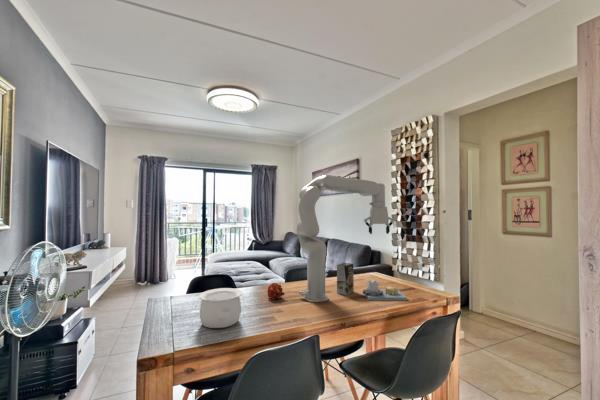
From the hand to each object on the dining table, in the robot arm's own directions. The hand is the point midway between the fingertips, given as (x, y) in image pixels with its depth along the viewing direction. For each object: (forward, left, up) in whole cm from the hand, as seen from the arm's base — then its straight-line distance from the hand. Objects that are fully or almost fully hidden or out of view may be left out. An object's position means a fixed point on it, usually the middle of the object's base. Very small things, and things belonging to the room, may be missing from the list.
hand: (379, 233), depth 165 cm
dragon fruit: (-60, -14, -34) cm, 70 cm away
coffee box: (-21, -3, -34) cm, 39 cm away
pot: (-79, -48, -34) cm, 98 cm away
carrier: (-1, -10, -33) cm, 35 cm away
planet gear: (-7, -10, -32) cm, 34 cm away
